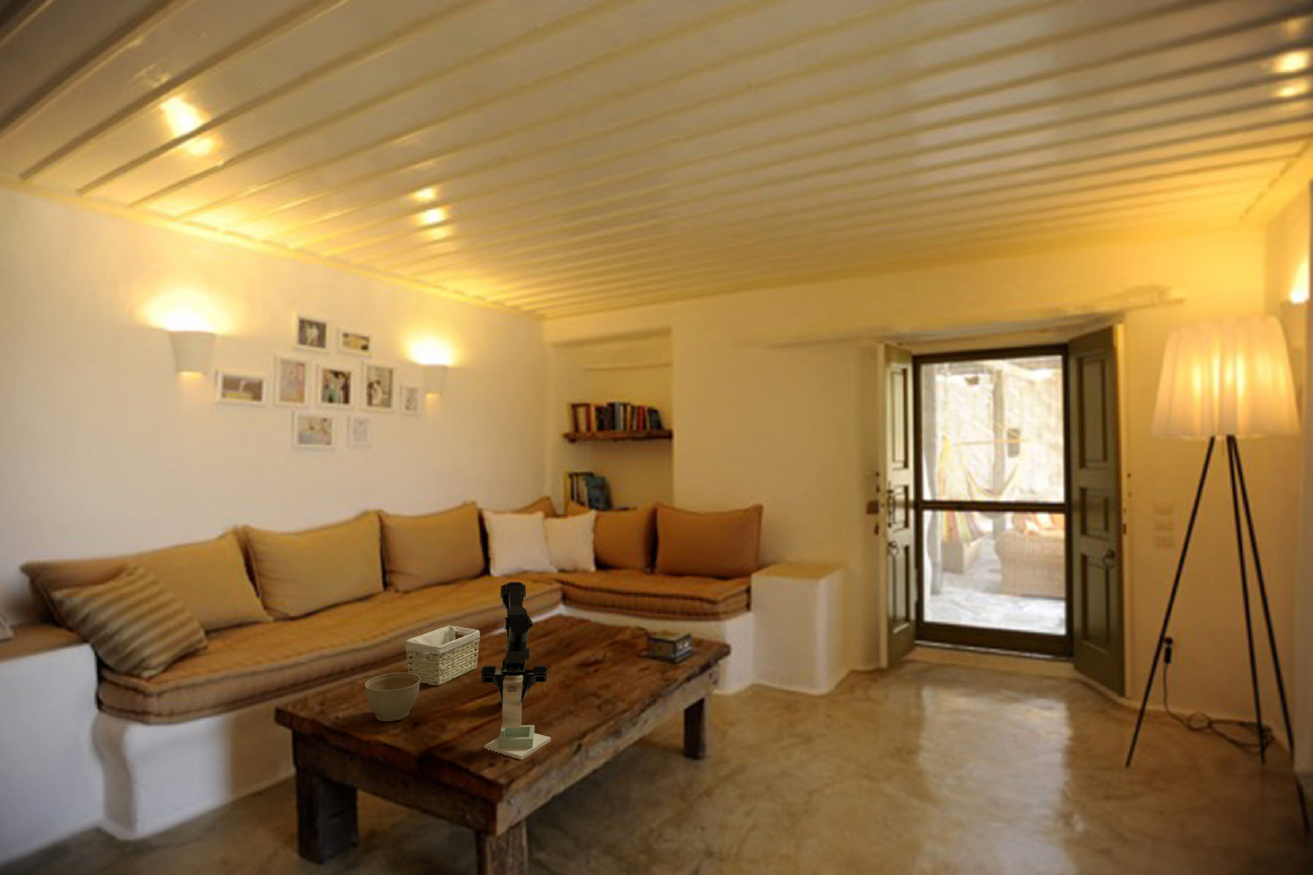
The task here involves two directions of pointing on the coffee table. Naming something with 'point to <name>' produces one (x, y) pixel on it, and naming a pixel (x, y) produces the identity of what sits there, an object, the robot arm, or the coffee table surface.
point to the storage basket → (442, 654)
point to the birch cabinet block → (512, 702)
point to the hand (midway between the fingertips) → (512, 702)
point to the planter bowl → (392, 695)
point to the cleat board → (519, 751)
